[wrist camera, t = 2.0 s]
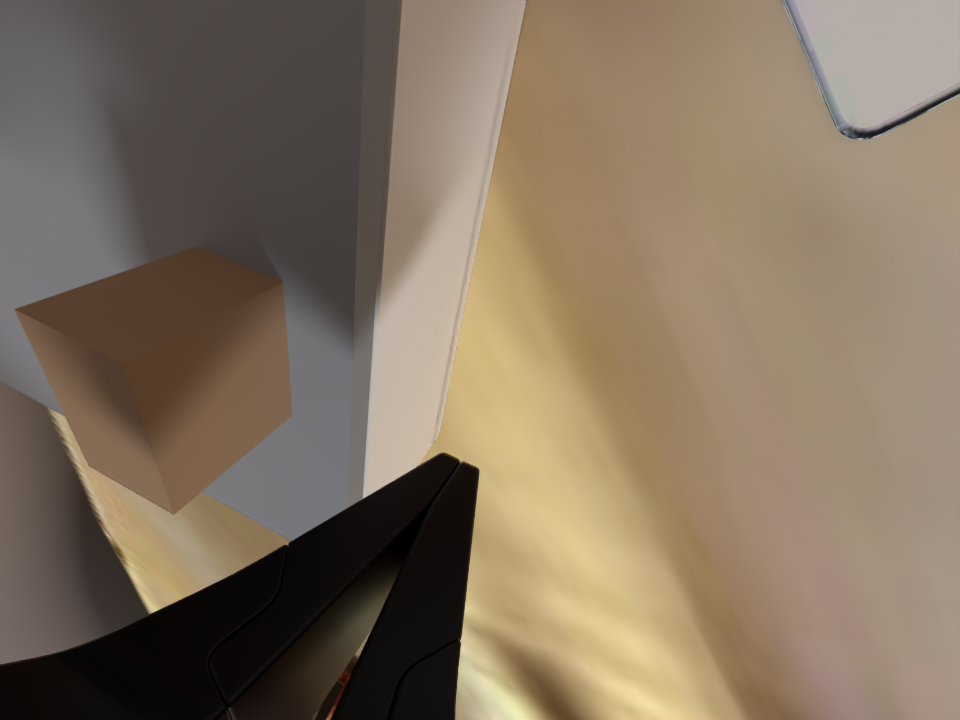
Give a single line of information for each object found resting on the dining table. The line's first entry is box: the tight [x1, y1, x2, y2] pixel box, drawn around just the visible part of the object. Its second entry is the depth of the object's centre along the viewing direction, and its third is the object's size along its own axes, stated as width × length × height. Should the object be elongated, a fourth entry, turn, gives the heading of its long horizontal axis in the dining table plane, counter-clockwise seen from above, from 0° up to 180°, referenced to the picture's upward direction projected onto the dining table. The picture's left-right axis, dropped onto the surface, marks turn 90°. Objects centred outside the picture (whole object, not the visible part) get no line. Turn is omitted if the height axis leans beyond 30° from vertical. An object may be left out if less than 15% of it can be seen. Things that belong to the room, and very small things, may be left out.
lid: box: [0, 0, 396, 541], centre depth 11 cm, size 17×18×4 cm
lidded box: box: [362, 0, 526, 499], centre depth 16 cm, size 16×18×6 cm
